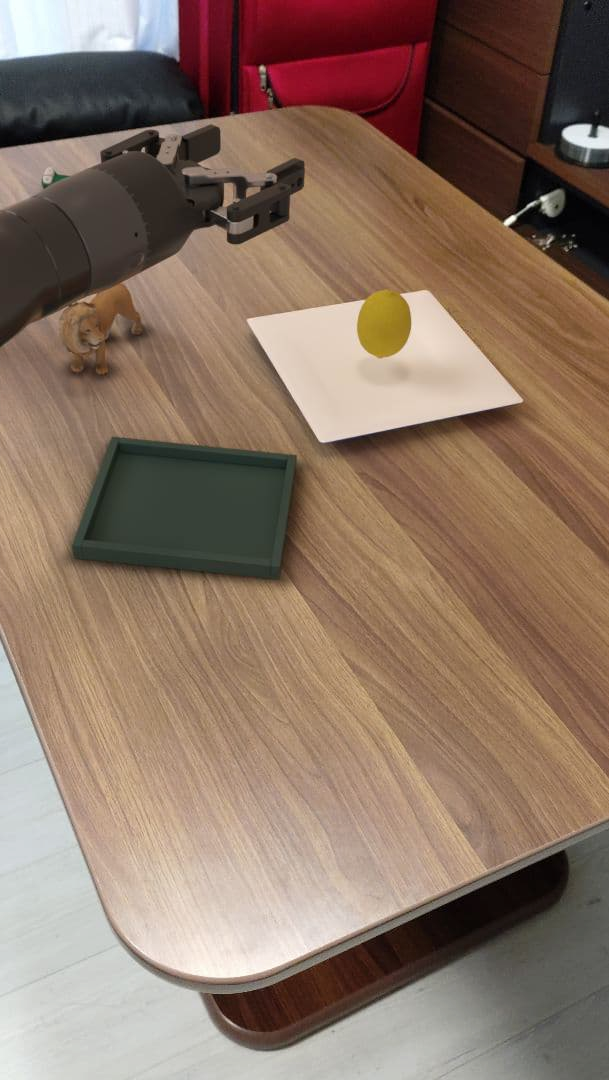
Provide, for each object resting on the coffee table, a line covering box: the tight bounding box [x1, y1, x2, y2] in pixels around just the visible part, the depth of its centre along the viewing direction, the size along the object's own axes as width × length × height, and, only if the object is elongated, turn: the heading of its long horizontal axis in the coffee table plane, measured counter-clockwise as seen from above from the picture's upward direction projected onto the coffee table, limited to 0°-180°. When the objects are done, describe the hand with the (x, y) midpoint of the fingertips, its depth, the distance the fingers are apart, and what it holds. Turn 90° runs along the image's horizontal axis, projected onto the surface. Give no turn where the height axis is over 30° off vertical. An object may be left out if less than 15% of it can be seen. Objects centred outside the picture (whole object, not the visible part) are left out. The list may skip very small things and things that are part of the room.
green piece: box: [41, 166, 70, 189], centre depth 127 cm, size 9×4×6 cm
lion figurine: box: [58, 283, 143, 375], centre depth 101 cm, size 15×5×9 cm, turn 169°
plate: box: [246, 289, 524, 445], centre depth 104 cm, size 22×22×2 cm
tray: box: [71, 436, 298, 580], centre depth 87 cm, size 18×15×2 cm
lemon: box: [357, 288, 411, 359], centre depth 100 cm, size 6×6×8 cm
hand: (257, 154), depth 76 cm, fingers open, 8 cm apart
